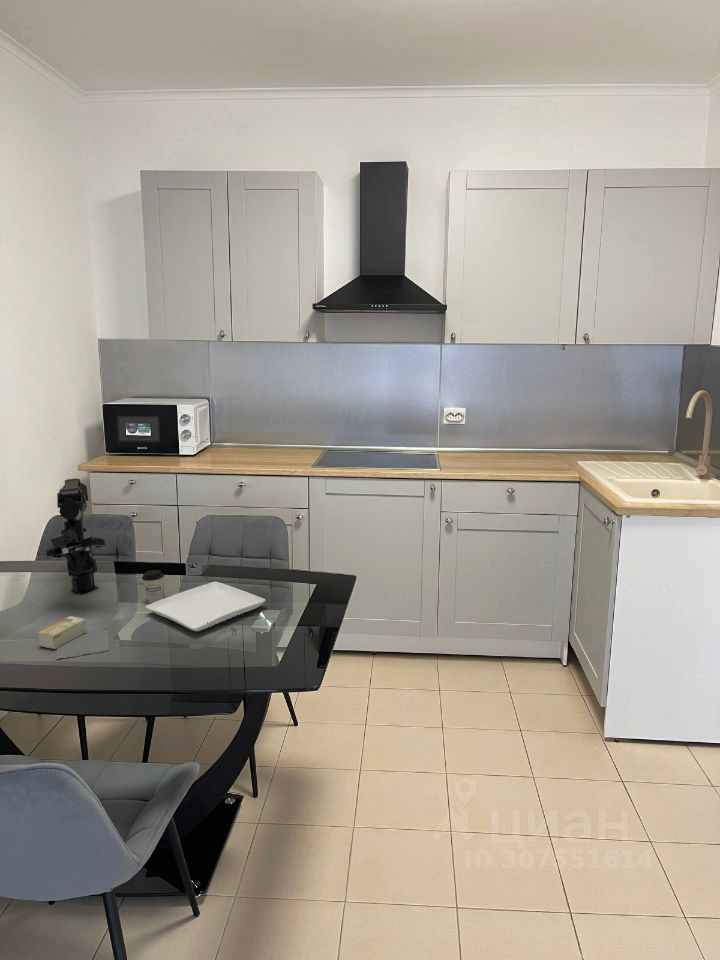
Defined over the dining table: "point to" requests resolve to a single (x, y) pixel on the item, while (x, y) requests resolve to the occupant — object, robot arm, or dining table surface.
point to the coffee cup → (153, 585)
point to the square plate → (205, 605)
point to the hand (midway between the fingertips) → (78, 574)
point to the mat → (88, 642)
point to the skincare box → (61, 632)
